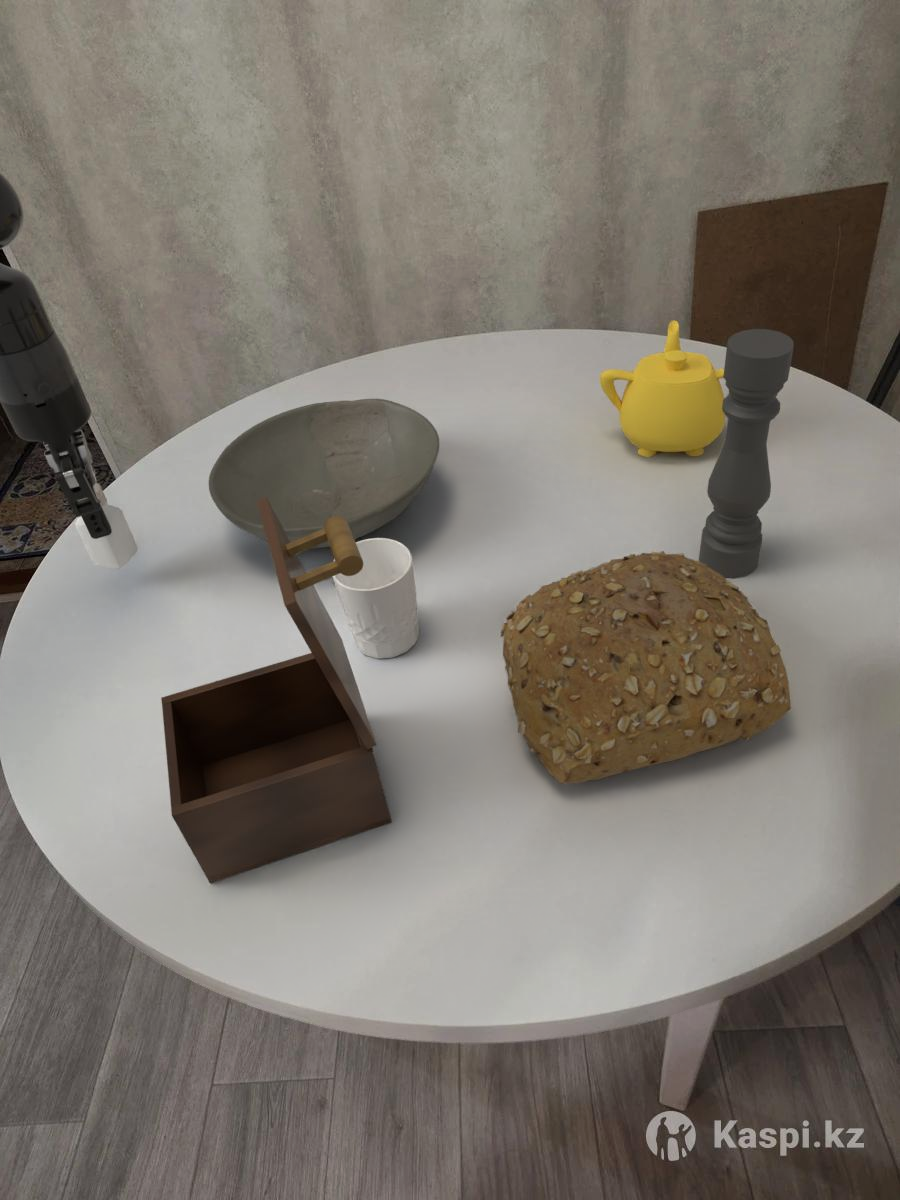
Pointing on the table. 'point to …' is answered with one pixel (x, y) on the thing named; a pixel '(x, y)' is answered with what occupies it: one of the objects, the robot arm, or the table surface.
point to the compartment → (267, 768)
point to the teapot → (669, 400)
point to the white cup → (381, 599)
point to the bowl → (326, 467)
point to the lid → (319, 603)
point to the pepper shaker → (109, 537)
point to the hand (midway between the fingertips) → (99, 520)
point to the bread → (639, 666)
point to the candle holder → (744, 450)
